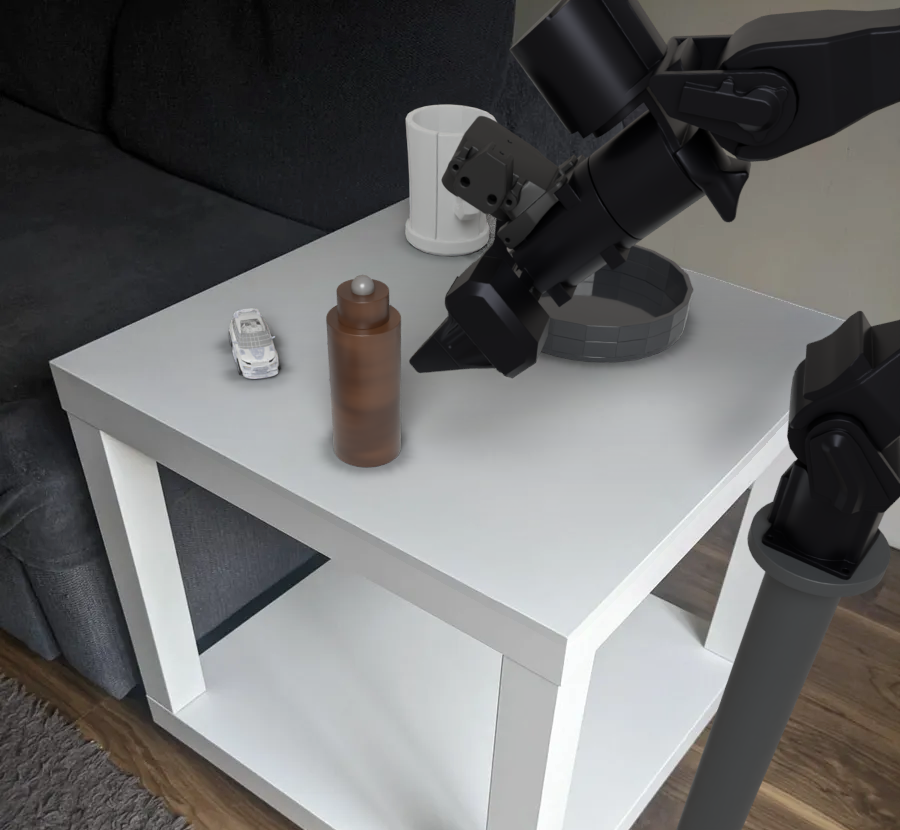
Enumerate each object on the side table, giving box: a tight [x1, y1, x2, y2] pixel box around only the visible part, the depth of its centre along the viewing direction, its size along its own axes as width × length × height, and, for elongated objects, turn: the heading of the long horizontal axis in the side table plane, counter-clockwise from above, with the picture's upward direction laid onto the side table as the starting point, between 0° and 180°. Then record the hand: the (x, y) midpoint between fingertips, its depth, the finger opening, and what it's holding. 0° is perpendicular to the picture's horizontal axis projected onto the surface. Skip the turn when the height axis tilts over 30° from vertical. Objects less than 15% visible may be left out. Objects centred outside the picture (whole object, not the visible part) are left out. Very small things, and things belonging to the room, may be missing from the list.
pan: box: [539, 244, 694, 363], centre depth 92 cm, size 18×18×4 cm
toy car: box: [228, 307, 281, 380], centre depth 84 cm, size 4×8×3 cm, turn 17°
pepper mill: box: [325, 274, 402, 468], centre depth 72 cm, size 5×5×14 cm
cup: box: [404, 104, 498, 257], centre depth 99 cm, size 10×9×12 cm
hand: (433, 333), depth 68 cm, fingers open, 9 cm apart
